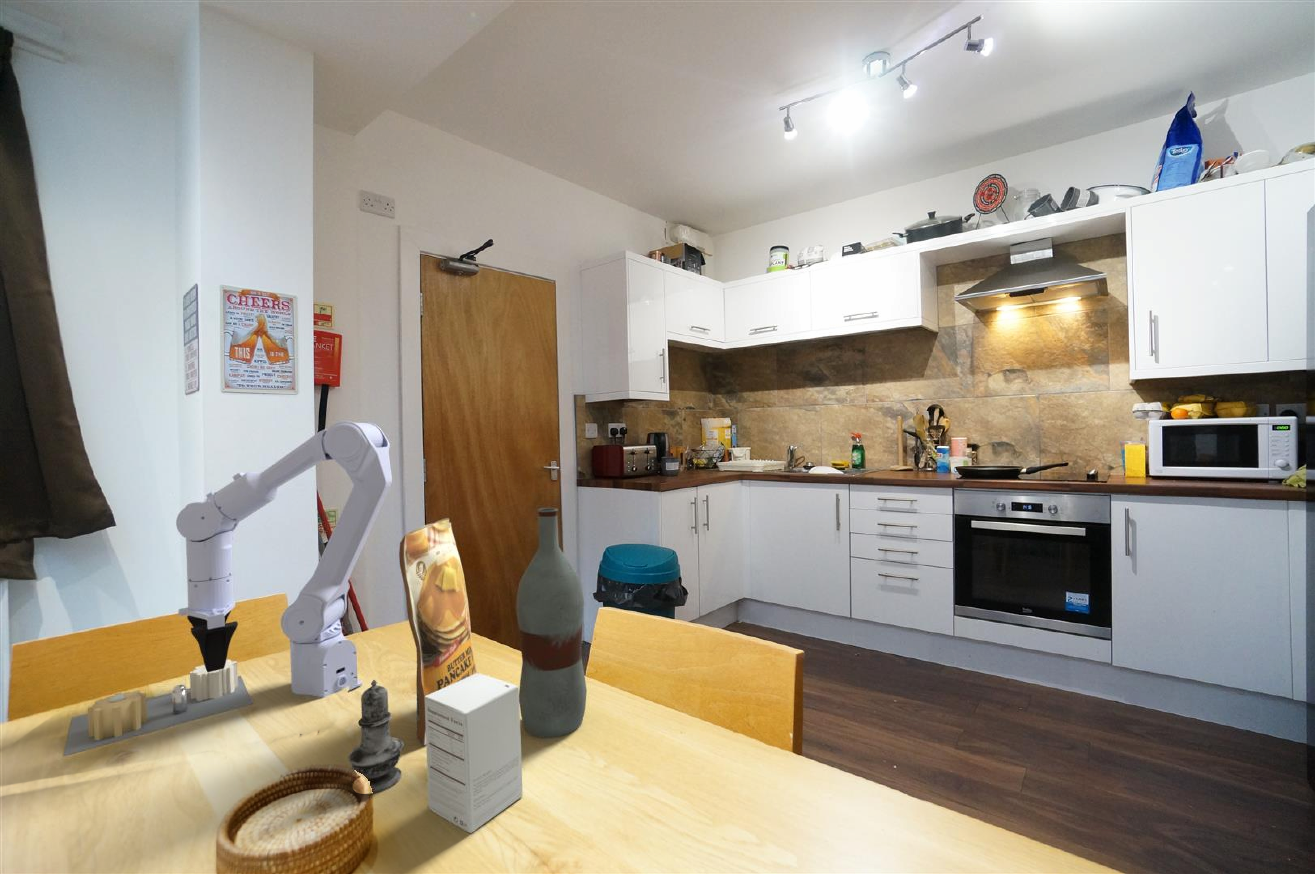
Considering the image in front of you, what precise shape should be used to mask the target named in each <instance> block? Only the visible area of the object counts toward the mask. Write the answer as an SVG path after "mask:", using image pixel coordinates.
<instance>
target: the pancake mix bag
mask: <svg viewBox="0 0 1315 874" xmlns="http://www.w3.org/2000/svg"><path fill="white" fill-rule="evenodd" d="M457 547H458V546H457V542H456V539H455V536H454V532H453V527H452V522H450V518H449V517H445V518H442V519H440V520H437V521H436V522H434V523H433V522H431V523H428V524H425V525H422V526H420V527H418V528H415V529H413V530H411V531H410V532H407V533H405V535H404V536H403V538H401V541H400V543H399V550H398V551H399V553H398V558H399V567H400V572H401V577H402V580H403V587H404V591H405V592H404V593H405V597H406V600H405V601H406V611H407V619H408V623H409V627H410V630H411V633H412V637H413V641H414V644H415V649H416V650H415V651H416V730H415V731H416V740H417V741H418V742H419V743H420V744H422V745H423V746H425V747H426V723H425V696H426V695H429V694H431V693H433V692H436V691H438V690H440V689H442V688H445V687H447V686H449V685H451V684H454V683H456V682H458V681H460V680H463V679H465V678H467V677H469V676H471V675H473V674H475V673H478V672H477V668H476V662H475V658H474V657H475V655H474V650H473V649H474V647H473V640H472V631H471V630H472V629H471V618H470V609H469V600H468V593H467V587H466V581H465V574H464V569H463V566H462V561H461V557H460V554H459V551H458V548H457Z"/></svg>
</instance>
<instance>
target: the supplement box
mask: <svg viewBox="0 0 1315 874" xmlns="http://www.w3.org/2000/svg"><path fill="white" fill-rule="evenodd" d="M519 689H520V686H518V685H515V684H513V683H511V682H508V681H505V680H501V679H498V678H495V677H493V676H489V675H486V674H483V673H480V672H477V673H475V674H473V675H471V676H469V677H467V678H465V679H463V680H460V681H458V682H456V683H454V684H451V685H449V686H447V687H445V688H442V689H440V690H438V691H436V692H433V693H431V694H429V695H426V696H425V723H426V745H425V747H426V766H427V767H426V770H427V771H426V772H427V796H428V797H427V798H428V799H427V800H428V801H427V802H428V809H429V810H430V811H432V812H433V813H434V814H436V815H438V816H439V817H441V818H443V819H444V820H446V821H448V822H449V823H451V824H452V825H455V826H456V827H458V828H459V829H462V830H463V831H465V832H467V833H469V834H472V833H473V832H475V831H476V830H478V828H480V827H482V826H483V825H484V824H486V823H487V822H489V821H491V820H492V818H494V817H495V816H496V815H499V814H500V813H501V812H502V811H504V810H505V809H507V808H508V807H509V806H510V805H512V804H514V803H515V802H516V801H518V800H519V799H520V798H522V797H523V795H524V794H523V769H522V767H523V766H522V744H521V743H522V741H521V740H522V739H521V717H520V716H521V710H520V704H519Z"/></svg>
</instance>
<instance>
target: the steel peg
mask: <svg viewBox="0 0 1315 874" xmlns="http://www.w3.org/2000/svg"><path fill="white" fill-rule="evenodd" d="M186 689H187V686H186V685H184V684H177V685H175V686H174V687H173V689H172V691H171V693H172V700H173V715H178V714H182V713H185V712H186V711H187V693H186Z"/></svg>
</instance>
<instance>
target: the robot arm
mask: <svg viewBox="0 0 1315 874" xmlns="http://www.w3.org/2000/svg"><path fill="white" fill-rule="evenodd" d="M390 447H391V442H390V441H389V440H388V438H387V437H386V435H385V433H384V431H383V430H382V429H381V427H379V425H377V424H375V423H373V422H369V421H360V422H352V421H349V420H343V421H342V420H340V421H338V422H335V423H334V424H331V426H329V427H328V428H327V429H322V430H320V431H318V432H316V433H315V434H314V435H313V436H312V437H310V438H309V439H306V441H304V442H302V443H301V444H300V445H298V446H297V447H296V448H295V449H293V450H292V451H290V452H289V453H288V454H285V455H284V456H283V457H282V458H281V459H278V460H277V461H276V462H275V463H274V464H272V465H271V466H269V467H268V468H266V469H265V470H263V471H261V472H260V471H254V470H250V471H247V472H237V473H236V474H234V475H233V476H232V478H233V481H231V482H230V483H228V484H227V485H225V486H224V487H222V488H220V489H218V490H217V491H215V490H213V491H210V492H209V493H206V495H205V496H206V498H205V501H203V502H202V501H195V502H191V503H190V502H189V503H188V504H187V505H186V506H185V507H184V508H183V509H182V510H180V512H179V513H178V515H177V517H176V522H175V523H176V525H175V526H176V530H177V531H178V532H179V535H181V536H182V537H183V538H185V545H186V546H185V549H186V579H187V580H186V582H187V585H186V586H187V607H183V608H179V609H178V611H177V612H178V613H177V614H178V616H179V617H181V616H186V619H187V620H188V622H189V623H190V625H191V626H192V627H190V633H191V635H192V636H193V637H194V638H195V641H196V642H197V643H198V646H199V650H200V654H201V657H202V660H203V663H204V664H203V665H205V668H206V670H207V672H212V671H216V670H220V669H224V667H225V663H226V660H228V652H229V648H230V644H231V640H232V638H233V636H234V633H235V632H236V630H237V627H238V626H239V623H238V621H230V622H227V620H228V618H229V616H230V613H231V612H232V610H233V609H234V608H235V607H236V600H235V599H234V597H235V596H234V595H235V593H234V570H233V569H234V568H233V567H234V566H233V565H234V564H233V562H234V561H233V537H234V536H233V533H234V531H235V530H236V529H237V528H238V525H239V524H240V523H241V522H242V521H243V520H245V519H246V518H248V517H250V516H251V515H253V514H254V513H256V512H257V511H258V510H261V509H262V508H263V507H264V506H266V505H267V504H270V503H271V502H272V501H274V500H275V499H276V496H277V492H278V488H279V487H282V486H284V485H285V484H286V483H287V482H289V481H291V480H293V479H294V478H297V477H298V476H300V475H301V474H303V473H304V472H306V471H308V470H310V469H311V468H313V467H315V466H317V465H318V464H320V463H321V462H327V461H333V460H334V461H335V462H336V463H337V464H338V465H339V466H340V467H342V468H343V469H344V471H345V472H346V474H347V475H348V477H349V479H350V480H351V482H352V484H353V487H352V489H351V490H350V493H349V496H348V498H347V500H346V502H345V505H344V506H343V509H342V511H341V513H340V515H339V517H338V520H337V522H336V523H335V526H334V528H333V531H332V533H331V535H330V537H329V540H328V542H327V543H326V546H325V548H324V550H323V553H322V555H321V557H320V559H319V562H318V564H317V565H316V568H315V570H314V572H313V574H312V576H311V577H310V579H309V580H308V581H307V583H306V584H305V585H304V586H303V588H301V590H300V592H299V594H298V595H297V598H296V599H295V601H294V602H293V603H291V605H289V606H287V608H285V610H284V611H283V612H282V614H281V618H280V627H281V630H282V633H283V634H284V635H285V636H286V638H288V639H289V649H290V651H289V652H290V653H289V654H290V655H289V656H290V675H291V676H290V679H291V680H290V681H291V683H290V684H291V692H292V693H293V694H296V695H308V696H314V697H318V698H326V697H329V696H331V695H333V694H336V693H337V692H340V691H342V690H344V689H346V688H348V689H347V690H348V692H349V691H351V690H353V689H356V688H358V687H360V686H361V685H363V681H361V680H359V679H358V658H357V657H358V654H357V653H358V651H357V648H356V645H355V643H354V642H353V641H351V639H348V638H346V636H344V634H343V631H342V624H341V618H343V616H345V613H346V611H347V606H348V604H347V603H348V601H347V595H348V592H349V590H350V587H351V586H350V583H349V579H350V577H351V575H352V573H353V570H354V568H355V565H356V563H357V562H358V559H359V557H360V555H361V553H362V551H363V549H364V546H365V543H366V542H367V541H368V540H367V539H368V537H369V535H370V533H371V530H372V528H373V526H374V524H375V521H376V520H377V517H378V515H379V512H380V510H381V508H382V506H383V504H384V502H385V500H386V497H387V495H388V493H389V490H390V489H391V487H392V482H393V476H392V475H393V474H392V469H391V468H392V467H391V462H390V461H391V460H390V454H389V452H390Z"/></svg>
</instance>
